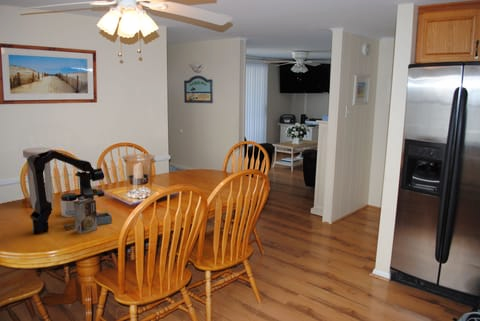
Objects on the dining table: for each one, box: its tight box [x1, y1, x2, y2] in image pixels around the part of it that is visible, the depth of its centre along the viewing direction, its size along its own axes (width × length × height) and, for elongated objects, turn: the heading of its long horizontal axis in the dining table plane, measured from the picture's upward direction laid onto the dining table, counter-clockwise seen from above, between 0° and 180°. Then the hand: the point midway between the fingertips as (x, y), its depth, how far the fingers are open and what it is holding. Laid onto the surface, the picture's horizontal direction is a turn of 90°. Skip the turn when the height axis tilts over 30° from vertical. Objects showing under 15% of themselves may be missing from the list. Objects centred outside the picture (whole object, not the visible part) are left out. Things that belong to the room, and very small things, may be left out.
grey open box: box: [97, 211, 113, 227], centre depth 212 cm, size 8×8×4 cm
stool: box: [22, 147, 54, 209], centre depth 237 cm, size 16×16×35 cm
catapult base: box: [63, 223, 76, 231], centre depth 205 cm, size 15×6×6 cm, turn 124°
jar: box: [60, 192, 79, 218], centre depth 222 cm, size 9×8×12 cm
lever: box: [65, 210, 75, 217], centre depth 208 cm, size 14×13×2 cm
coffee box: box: [74, 198, 98, 235], centre depth 199 cm, size 9×6×16 cm
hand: (86, 209), depth 215 cm, fingers closed
